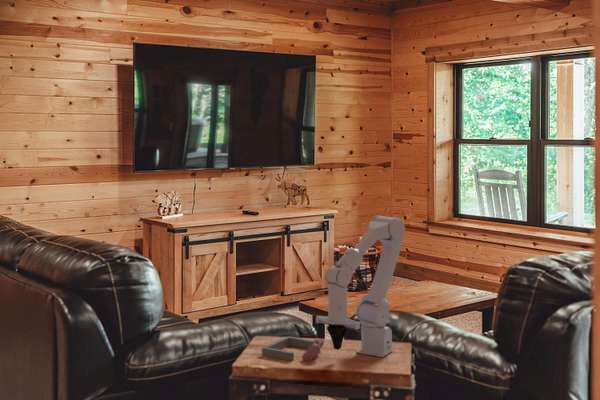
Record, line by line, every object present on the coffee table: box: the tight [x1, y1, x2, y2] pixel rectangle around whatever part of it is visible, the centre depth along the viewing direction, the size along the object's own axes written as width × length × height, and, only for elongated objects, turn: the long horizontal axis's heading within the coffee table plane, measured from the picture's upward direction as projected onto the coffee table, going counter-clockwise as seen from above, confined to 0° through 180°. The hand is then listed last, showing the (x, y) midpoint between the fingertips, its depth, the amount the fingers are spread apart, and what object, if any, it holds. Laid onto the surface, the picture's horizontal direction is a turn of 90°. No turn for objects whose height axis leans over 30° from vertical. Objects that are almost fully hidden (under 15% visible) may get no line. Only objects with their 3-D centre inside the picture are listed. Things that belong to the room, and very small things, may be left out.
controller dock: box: [261, 336, 314, 362], centre depth 239 cm, size 11×15×2 cm
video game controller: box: [301, 337, 325, 362], centre depth 234 cm, size 10×5×7 cm, turn 169°
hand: (337, 348), depth 230 cm, fingers closed
